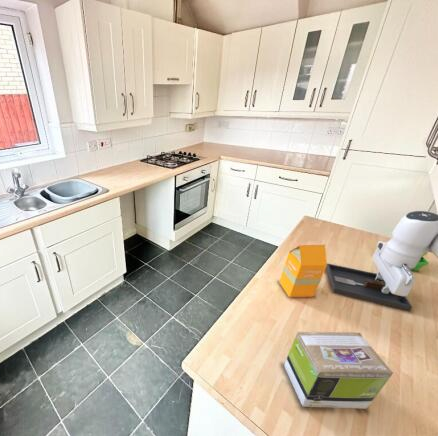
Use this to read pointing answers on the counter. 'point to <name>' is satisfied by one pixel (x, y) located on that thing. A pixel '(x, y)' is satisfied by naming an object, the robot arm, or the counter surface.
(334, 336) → the tea box
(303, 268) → the orange juice
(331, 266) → the tray
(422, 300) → the counter surface
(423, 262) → the fruit basket
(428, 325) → the counter surface
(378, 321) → the counter surface
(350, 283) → the fork
